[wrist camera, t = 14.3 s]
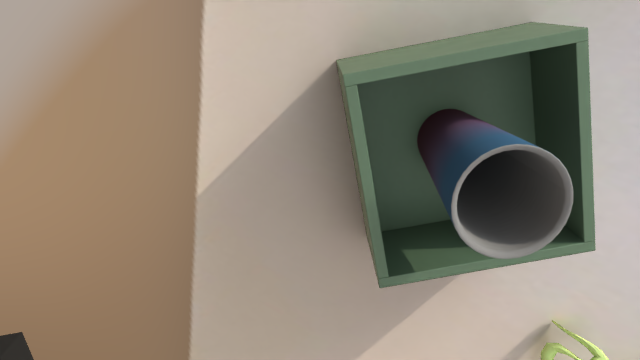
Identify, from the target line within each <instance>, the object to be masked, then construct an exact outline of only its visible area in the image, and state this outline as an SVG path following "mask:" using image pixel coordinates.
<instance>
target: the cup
mask: <svg viewBox="0 0 640 360" xmlns="http://www.w3.org/2000/svg"><path fill="white" fill-rule="evenodd" d="M417 144H418V149H419V152H420V154H421V157H422V159H423V161H424V163H425V165H426V167H427V169H428V172H429V174H430V176H431V178H432V180H433V182H434V185H435V187H436V189H437V191H438V193H439V195H440V197H441V200H442V202H443V204H444V206H445V208H446V210H447V212H448V215H449V217H450V219H451V221H452V223H453V225H454V228H455V229H456V231H457V233H458V235H459V237H460V238H461V239H462V240H463V241H464V242H465V244H466V245H468V246H469V247H470V248H472V249H473V250H474V251H476V252H478V253H480V254H482V255H485V256H488V257H492V258H496V259H512V258H520V257H523V256H526V255H529V254H532V253H534V252H536V251H538V250H540V249H542V248H543V247H545V246H546V245H547V244H549V243H550V242H551V241H552V240H553V239H554V238H555V237H556V236H557V235H558V234H559V233H560V231H561V230H562V228H563V227H564V225H565V224H566V222H567V220H568V218H569V215H570V213H571V209H572V204H573V186H572V182H571V178H570V176H569V174H568V171H567V169H566V168H565V166H564V165H563V164H562V163H561V161H560V160H559V159H558V158H557V157H555V156H554V155H553V154H552V153H550V152H548V151H546V150H544V149H542V148H540V147H538V146H536V145H534V144H532V143H530V142H527V141H525V140H523V139H521V138H519V137H517V136H515V135H512V134H510V133H508V132H506V131H504V130H502V129H500V128H497V127H495V126H493V125H491V124H489V123H487V122H484V121H482V120H480V119H478V118H476V117H474V116H472V115H469V114H467V113H465V112H463V111H461V110H457V109H443V110H440V111H437V112H435V113H434V114H432V115H431V116H429V117H428V118H427V119H426V120H425V121H424V123H423V124H422V126H421V128H420V130H419V133H418V138H417Z"/></svg>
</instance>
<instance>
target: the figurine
mask: <svg viewBox="0 0 640 360" xmlns="http://www.w3.org/2000/svg"><path fill="white" fill-rule="evenodd" d="M552 322H553V323H554V324H555V325H557V326H558V327H559V328H560V329H561V330H563V331H564V332H566V333H567V334H568V335H570V336H571V337H573V338H574V339H576V340H577V341H579V342H580V343H581V344H583V345H584V346H585V347H587V348H588V350H589V351H590V352H591V353H592V354H593V355H594V357H593V358H592V359H591V360H609V359H608V358H607V357H606V355H605V354H604V353H603V352H602V350H600V349H599V348H598V347H596V346H595V345H593V344H592V343H590V342H589V341H587V340H585V339H583V338H582V337H580V336H578V335H576V334H574V333H572V332H570V331H568V330H566V329H564V328H563V327H561V326H560V325H559V324H557V323H556V322H554V321H552ZM557 352H559V353H563V354H566V355H568V356H570V357H572V358H574V359H575V360H582V359H580V358H578V357H577V356H575V355H574V354H573V353H572V352H570V351H569V350H568V349H566V348H565V347H563V346H562V345H560V344H559V343H546V345H545V347H544V348H543V350H542V351H541V360H554V359H553V358H554V357H555V355H556V353H557Z"/></svg>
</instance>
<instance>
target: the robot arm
mask: <svg viewBox="0 0 640 360" xmlns="http://www.w3.org/2000/svg"><path fill="white" fill-rule="evenodd" d="M0 360H34V359H33V357H32V355H31V352H30V350H29V348H28V345H27V343H26V341H25V338H24V336H23V333H22V332H19V333H14V334H8V335H3V336H0Z"/></svg>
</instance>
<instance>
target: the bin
mask: <svg viewBox="0 0 640 360" xmlns="http://www.w3.org/2000/svg"><path fill="white" fill-rule="evenodd" d="M336 62H337V68H338V74H339V80H340V85H341V91H342V97H343V102H344V108H345V114H346V119H347V125H348V131H349V136H350V142H351V148H352V154H353V159H354V165H355V171H356V176H357V182H358V188H359V193H360V199H361V205H362V211H363V216H364V222H365V228H366V233H367V239H368V243H369V247H370V251H371V255H372V259H373V263H374V267H375V271H376V276H377V280H378V284H379V287H380V288H384V287H390V286H395V285H401V284H407V283H412V282H418V281H424V280H430V279H435V278H441V277H447V276H452V275H458V274H464V273H469V272H475V271H481V270H487V269H492V268H498V267H504V266H509V265H515V264H521V263H526V262H532V261H538V260H544V259H549V258H555V257H561V256H566V255H572V254H578V253H583V252H589V251H595V221H594V192H593V163H592V135H591V106H590V77H589V49H588V28H584V27H575V26H565V25H555V24H545V23H535V22H531V23H526V24H521V25H516V26H510V27H505V28H500V29H495V30H490V31H484V32H479V33H474V34H469V35H464V36H459V37H453V38H448V39H443V40H438V41H433V42H427V43H422V44H417V45H412V46H407V47H401V48H396V49H391V50H386V51H381V52H376V53H370V54H365V55H360V56H355V57H350V58H344V59H339V60H336ZM443 109H457V110H461V111H463V112H465V113H467V114H469V115H472V116H474V117H476V118H478V119H480V120H482V121H484V122H487V123H489V124H491V125H493V126H495V127H497V128H500V129H502V130H504V131H506V132H508V133H510V134H512V135H515V136H517V137H519V138H521V139H523V140H525V141H527V142H530V143H532V144H534V145H536V146H538V147H540V148H542V149H544V150H546V151H548V152H550V153H552V154H553V155H554V156H555V157H557V158H558V159H559V160H560V161H561V163H562V164H563V165H564V166H565V168H566V169H567V171H568V174H569V176H570V178H571V182H572V186H573V204H572V209H571V213H570V215H569V218H568V220H567V222H566V224H565V225H564V227H563V228H562V230H561V231H560V233H559V234H558V235H557V236H556V237H555V238H554V239H553V240H552V241H551V242H550V243H549V244H547V245H546V246H545V247H543V248H542V249H540V250H538V251H536V252H534V253H532V254H529V255H526V256H523V257H520V258H512V259H496V258H492V257H488V256H485V255H482V254H480V253H478V252H476V251H474V250H473V249H472V248H470V247H469V246H468V245H466V244H465V242H464V241H463V240H462V239H461V238H460V237H459V235H458V233H457V231H456V229H455V228H454V225H453V223H452V221H451V219H450V217H449V215H448V212H447V210H446V208H445V206H444V204H443V202H442V200H441V197H440V195H439V193H438V191H437V189H436V187H435V185H434V182H433V180H432V178H431V176H430V174H429V172H428V169H427V167H426V165H425V163H424V161H423V159H422V157H421V154H420V152H419V149H418V144H417V138H418V133H419V130H420V128H421V126H422V124H423V123H424V121H425V120H426V119H427V118H428V117H429V116H431V115H432V114H434V113H435V112H437V111H440V110H443Z"/></svg>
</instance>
